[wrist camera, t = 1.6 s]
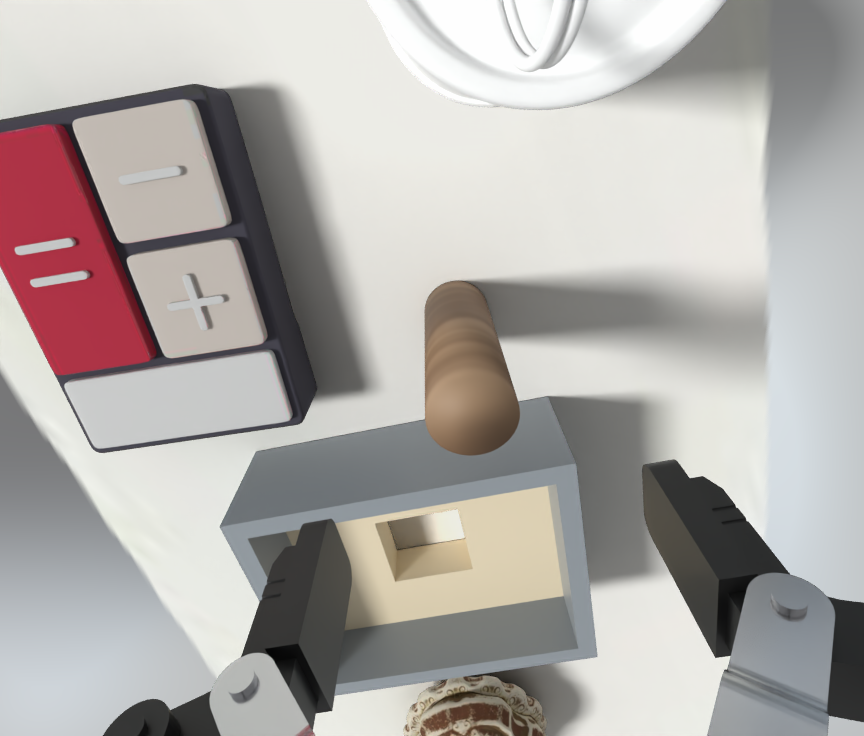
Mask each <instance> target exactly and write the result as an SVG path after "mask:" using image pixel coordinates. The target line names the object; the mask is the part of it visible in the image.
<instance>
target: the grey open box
mask: <svg viewBox="0 0 864 736" xmlns="http://www.w3.org/2000/svg"><path fill="white" fill-rule="evenodd" d="M518 403H519V407H520V420H519V424H518V427H517V429H516V431H515V433H514V434H513V436H512V437H511V438H510V439H509V440H508V441H507V442H506V443H505V444H504V445H502V446H501V447H499V448H498V449H496V450H494V451H492V452H489V453H486V454H481V455H473V456H468V455H460V454H456V453H453V452H450V451H448V450H446V449H444V448H442V447H441V446H440V445H438V444H437V443H436V442H435V441H434V440H433V438H432V437H431V435H430V434H429V432H428V429H427V427H426V422H425V420H421V421H416V422H411V423H405V424H400V425H395V426H389V427H384V428H379V429H374V430H368V431H363V432H358V433H353V434H347V435H342V436H337V437H332V438H326V439H321V440H316V441H311V442H305V443H300V444H295V445H290V446H284V447H279V448H274V449H268V450H263V451H258V452H256V453H255V455H254V457H253V459H252V461H251V463H250V465H249V467H248V469H247V471H246V473H245V476H244V478H243V480H242V482H241V484H240V486H239V488H238V490H237V492H236V494H235V496H234V498H233V500H232V503H231V505H230V507H229V509H228V511H227V513H226V515H225V517H224V519H223V521H222V523H221V525H220V528H221V530H222V532H223V534H224V536H225V538H226V540H227V541H228V543H229V545H230V547H231V549H232V551H233V553H234V555H235V556H236V558H237V560H238V562H239V564H240V566H241V568H242V570H243V571H244V573H245V575H246V577H247V579H248V581H249V583H250V584H251V586H252V588H253V590H254V592H255V594H256V596H257V598H258V599H259V601H260V600H262V594H263V591H264V588H265V585H267V579H268V576H269V573H270V570H271V567H272V564H273V563H274V561H275V560H276V559H277V557H278V556H279V555H280V554H281V552H282V551H283V550H284V548H285V547H288V546H294V545H296V542H297V539H298V535H299V532H300V529H301V526H302V525H303V524H304V523H309V522H314V521H320V520H326V519H332V520H333V521H334V522H335V524H336V527H337V529H338V532H339V534H340V537H341V540H342V542H343V545H344V547H345V550H346V552H347V555H348V558H349V560H350V564H351V570H352V586H351V592H350V599H349V605H348V612H347V618H346V624H345V631H344V637H343V644H342V650H341V657H340V663H339V669H338V676H337V682H336V689H335V695H342V694H349V693H356V692H363V691H369V690H376V689H383V688H390V687H397V686H403V685H410V684H417V683H424V682H431V681H437V680H444V679H451V678H458V677H465V676H471V675H478V674H485V673H492V672H499V671H505V670H512V669H519V668H526V667H533V666H539V665H546V664H553V663H560V662H567V661H573V660H580V659H587V658H594V657H597V648H596V639H595V630H594V621H593V612H592V603H591V594H590V584H589V575H588V566H587V557H586V548H585V539H584V530H583V521H582V512H581V503H580V494H579V485H578V476H577V467H576V462H575V459H574V457H573V455H572V452H571V450H570V448H569V445H568V443H567V441H566V438H565V436H564V433H563V431H562V429H561V426H560V424H559V422H558V419H557V417H556V415H555V412H554V410H553V407H552V405H551V403H550V400H549V398H548V396H547V397H542V398H537V399H532V400H526V401H521V402H518ZM455 509H458V512H459V516H460V520H461V524H462V528H463V532H464V536H465V539H461V540H455V541H449V542H443V543H437V544H431V545H425V546H419V547H413V548H407V549H402V550H397V549H396V546H395V543H394V540H393V537H392V534H391V531H390V528H389V525H388V522H387V521H392V520H398V519H404V518H409V517H415V516H421V515H427V514H432V513H438V512H444V511H450V510H455ZM335 695H334V696H335Z"/></svg>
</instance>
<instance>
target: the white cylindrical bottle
mask: <svg viewBox="0 0 864 736" xmlns="http://www.w3.org/2000/svg"><path fill="white" fill-rule="evenodd" d="M367 2H368V4H369V6H370V7H371V9H372V10H373V12H374V14H375V15H376V17H377V18H378V19H379V21H380V22H381V24H382V26H383V29H384V31H385V33H386V36H387V38H388V40H389V42H390V44H391V45H392V47H393V49H394V51H395V52H396V54H397V55H398V57H399V58H400V60H401V61H402V62H403V64H404V65H405V66H406V67H407V69H408V70H409V71H410V72H411V73H412V74H413V75H414V76H415V77H416V78H417V79H418V80H419V81H420V82H422V83H423V84H424V85H425V86H427V87H428V88H429V89H431V90H432V91H434V92H435V93H437V94H439V95H441V96H443V97H445V98H447V99H449V100H452V101H454V102H457V103H461V104H465V105H469V106H476V107H499V106H502V107H507V108H514V109H524V110H551V109H561V108H568V107H573V106H578V105H582V104H586V103H589V102H592V101H596V100H599V99H601V98H604V97H607V96H609V95H612V94H614V93H616V92H618V91H621V90H623V89H625V88H627V87H629V86H631V85H632V84H634V83H636V82H638V81H639V80H641V79H643V78H644V77H646V76H648V75H649V74H651V73H652V72H654V71H655V70H657V69H658V68H659V67H661V66H662V65H663V64H665V63H666V62H667V61H669V60H670V59H671V58H672V57H674V56H675V55H676V54H677V53H678V52H679V51H681V50H682V49H683V48H684V47H685V46H686V45H687V44H688V43H689V42H690V41H691V40H693V38H694V37H695V36H696V35H697V34H698V33H699V32H700V31H701V30H702V29H703V28H704V27H705V26H706V25H707V24H708V23H709V22H710V20H711V19H712V18H713V17H714V16H715V14H716V13H717V12H718V11H719V10H720V8H721V7H722V6H723V4H724V3H725V2H726V0H367Z"/></svg>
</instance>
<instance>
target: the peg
mask: <svg viewBox="0 0 864 736" xmlns="http://www.w3.org/2000/svg"><path fill="white" fill-rule="evenodd" d="M519 420H520V407H519V403H518V400H517V397H516V394H515V390H514V387H513V384H512V381H511V378H510V375H509V371H508V368H507V365H506V362H505V359H504V356H503V352H502V349H501V346H500V343H499V340H498V337H497V333H496V330H495V327H494V324H493V321H492V318H491V314H490V311H489V308H488V305H487V302H486V299H485V297H484V295H483V294H482V292H481V291H480V290H479V289H478V288H477V287H475V286H474V285H472V284H470V283H467V282H464V281H450V282H447V283H444V284H442V285H440V286H438V287H437V288H436V289H435V290H434V291H433V292H432V293H431V294H430V295H429V297H428V299H427V301H426V305H425V422H426V427H427V429H428V432H429V434H430V435H431V437H432V438H433V440H434V441H435V442H436V443H437V444H438V445H440V446H441V447H442V448H444V449H446V450H448V451H450V452H453V453H456V454H460V455H468V456H473V455H481V454H486V453H489V452H492V451H494V450H496V449H498V448H499V447H501V446H502V445H504V444H505V443H506V442H507V441H508V440H509V439H510V438H511V437H512V436H513V434H514V433H515V431H516V429H517V427H518V424H519Z"/></svg>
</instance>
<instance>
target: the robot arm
mask: <svg viewBox="0 0 864 736" xmlns="http://www.w3.org/2000/svg"><path fill="white" fill-rule="evenodd" d="M642 478H643V502H644V515H645V520H646V524H647V527H648V530H649V533H650V535H651V537H652V539H653V541H654V543H655V545H656V547H657V549H658V550H659V552H660V554H661V556H662V558H663V560H664V562H665V564H666V566H667V567H668V569H669V571H670V573H671V575H672V577H673V579H674V581H675V583H676V584H677V586H678V588H679V590H680V592H681V594H682V596H683V598H684V600H685V601H686V603H687V605H688V607H689V609H690V611H691V613H692V615H693V617H694V618H695V620H696V622H697V624H698V626H699V628H700V630H701V632H702V634H703V635H704V637H705V639H706V641H707V643H708V645H709V647H710V649H711V650H712V652H713V654H714V656H715V658H718V657H725V656H731V657H730V661H729V665H728V669H727V670H724V672H723V675H722V678H721V682H720V686H719V690H718V694H717V698H716V702H715V706H714V710H713V714H712V718H711V722H710V726H709V730H708V734H707V736H827V735H828V723H829V722H828V721H829V716H834V717H839V718H844V719H849V720H855V721H860V722H864V603H861V602H852V601H845V600H839V599H835V598H830V597H827V596H826V595H825V594H824V593H823V592H822V591H821V590H820V589H818V588H817V587H816V586H815V585H813V584H811V583H809V582H808V581H806V580H804V579H802V578H799V577H796V576H793V575H790V573H788V571H787V570H786V569H785V567H784V566H783V565H782V564H781V562H780V561H779V560H778V559H777V557H776V556H775V555H774V553H773V552H772V551H771V550H770V548H769V547H768V546H767V545H766V543H765V542H764V541H763V539H762V538H761V537H760V536H759V534H758V533H757V532H756V531H755V529H754V528H753V527H752V525H751V524H750V523H749V522H747V521H746V518H745V517H744V515H743V514H742V513H741V511H740V510H739V509H738V508H736V506H735V504H734V503H733V501H732V500H731V499H730V497H729V496H728V495H727V494H726V492H725V491H724V490H723V489H722V488H721V487H719V486H718V485H716V484H714V483H713V482H711V481H710V480H708V479H706V478H705V477H703V476H701V477H696V478H689V477H688V475H687V474H686V473H685V471H684V470H683V468H682V467H681V466H680V464H679V463H678V462H677V461H676V460H668V461H662V462H656V463H651V464H645V465H643V468H642ZM351 586H352V570H351V564H350V560H349V558H348V555H347V552H346V550H345V547H344V545H343V542H342V540H341V537H340V534H339V532H338V529H337V527H336V524H335V522H334V521H333V520H332V519H326V520H320V521H314V522H309V523H304V524H303V525H302V526H301V529H300V532H299V535H298V539H297V542H296V545H294V546H288V547H285V548H284V550H283V551H282V552H281V554H280V555H279V556H278V557H277V559H276V560H275V561H274V563H273V564H272V567H271V570H270V573H269V576H268V579H267V585H265V588H264V591H263V594H262V600H260V603H259V606H258V609H257V612H256V615H255V618H254V621H253V624H252V627H251V629H250V632H249V635H248V638H247V641H246V644H245V647H244V650H243V653H242V656H241V658H239V659H237V660H235V661H234V662H232V663H231V664H230V665H229V666H228V667H227V668H226V669H225V670H224V671H223V672H222V673H221V674H220V675H219V677H218V678H217V680H216V682H215V683H214V685H213V687H212V690H211V691H210V692H208V693H206V694H204V695H202V696H200V697H198V698H196V699H194V700H191V701H189V702H187V703H185V704H183V705H181V706H179V707H177V708H174V709H172V710H170V709H169V708H168V707H167V706H166V704H165V703H164V702H162V701H161V700H158V699H150V700H145V701H142V702H140V703H137V704H135V705H134V706H132V707H130V708H129V709H127V710H126V711H124V712H123V713H122V714H121V715H120V716H119V717H118V718H117V719H116V720H115V721H114V722H113V723H112V724H111V725H110V726H109V728H108V729H107V730H106V732H105V733H104V735H103V736H315V734H314V732H313V725H314V720H315V714H316V713H321V712H328V711H332V708H333V701H334V695H335V689H336V682H337V676H338V669H339V663H340V657H341V650H342V644H343V637H344V631H345V624H346V618H347V612H348V605H349V599H350V592H351Z"/></svg>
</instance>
